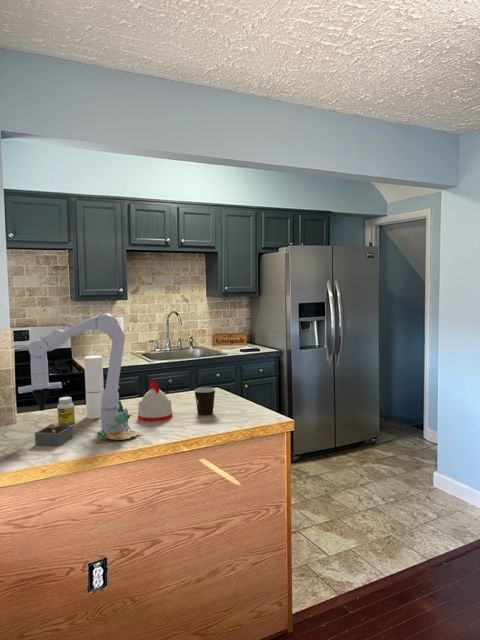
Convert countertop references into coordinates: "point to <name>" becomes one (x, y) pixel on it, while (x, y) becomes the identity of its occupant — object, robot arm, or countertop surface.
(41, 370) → the robot arm
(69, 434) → the gray open box
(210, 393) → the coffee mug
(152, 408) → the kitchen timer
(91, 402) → the cylindrical container
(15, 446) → the countertop surface
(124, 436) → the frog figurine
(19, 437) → the countertop surface
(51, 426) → the plunger
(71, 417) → the pill bottle
